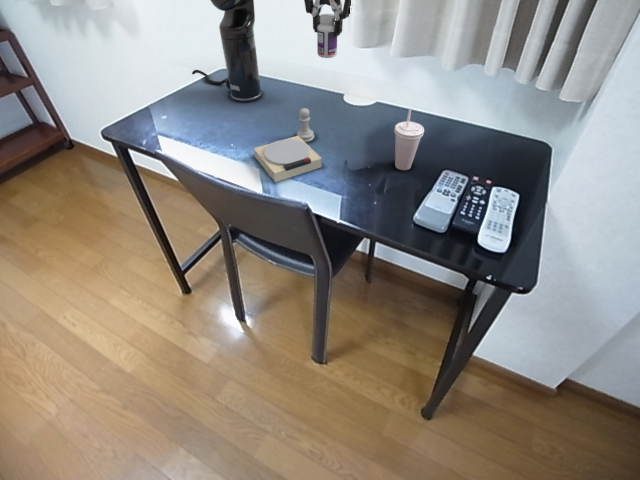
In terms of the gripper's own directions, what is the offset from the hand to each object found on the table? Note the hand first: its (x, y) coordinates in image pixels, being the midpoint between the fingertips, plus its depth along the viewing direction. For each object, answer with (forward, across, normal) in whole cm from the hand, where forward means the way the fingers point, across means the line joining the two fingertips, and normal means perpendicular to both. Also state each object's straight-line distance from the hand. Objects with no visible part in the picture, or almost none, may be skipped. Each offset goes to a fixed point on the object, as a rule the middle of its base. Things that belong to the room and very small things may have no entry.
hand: (327, 33), depth 100 cm
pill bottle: (+6, 0, 0) cm, 6 cm away
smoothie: (+18, +33, -22) cm, 44 cm away
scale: (+19, +8, -34) cm, 39 cm away
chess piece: (+19, +6, -22) cm, 29 cm away
